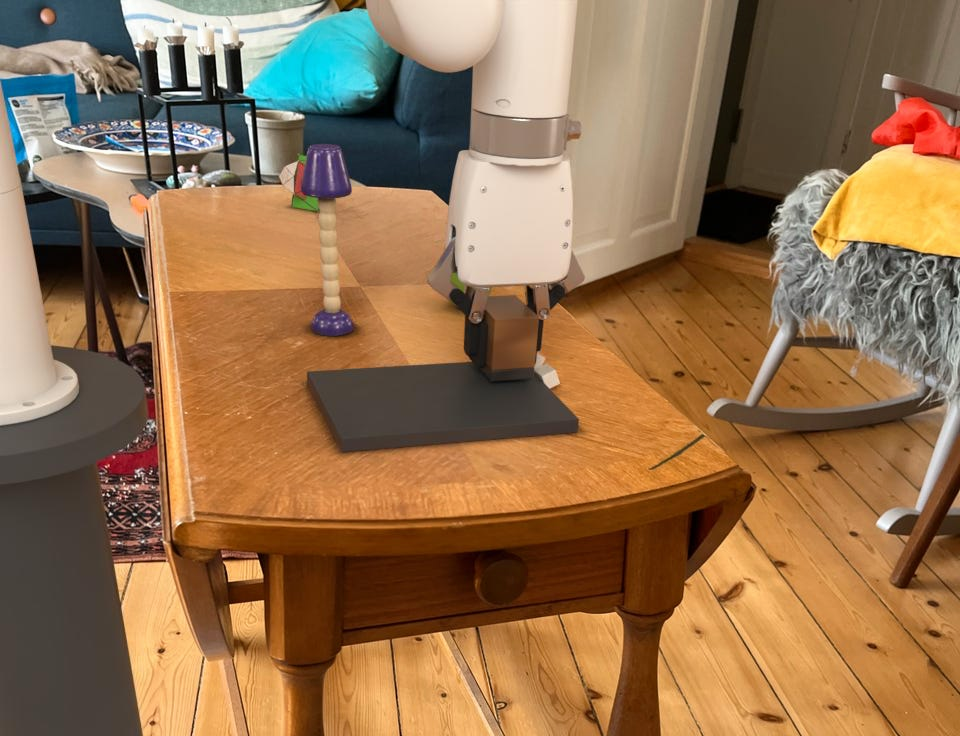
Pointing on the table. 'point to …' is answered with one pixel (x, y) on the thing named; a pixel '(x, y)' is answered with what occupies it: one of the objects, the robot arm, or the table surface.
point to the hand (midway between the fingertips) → (501, 358)
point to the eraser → (510, 339)
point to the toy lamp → (328, 230)
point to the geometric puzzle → (297, 185)
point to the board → (433, 406)
